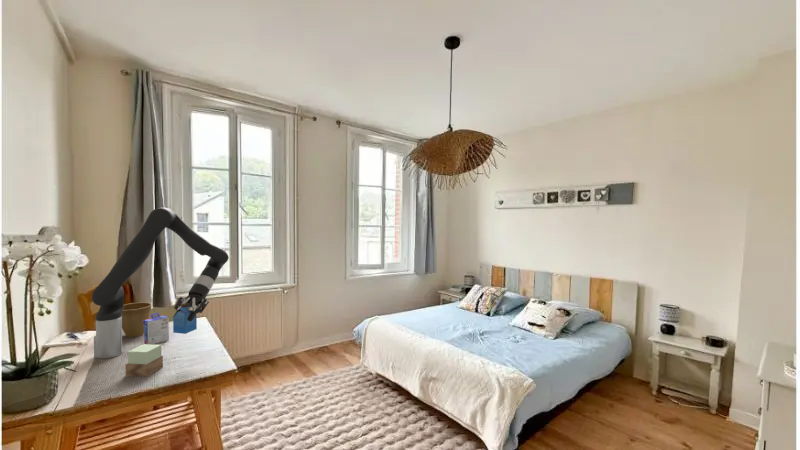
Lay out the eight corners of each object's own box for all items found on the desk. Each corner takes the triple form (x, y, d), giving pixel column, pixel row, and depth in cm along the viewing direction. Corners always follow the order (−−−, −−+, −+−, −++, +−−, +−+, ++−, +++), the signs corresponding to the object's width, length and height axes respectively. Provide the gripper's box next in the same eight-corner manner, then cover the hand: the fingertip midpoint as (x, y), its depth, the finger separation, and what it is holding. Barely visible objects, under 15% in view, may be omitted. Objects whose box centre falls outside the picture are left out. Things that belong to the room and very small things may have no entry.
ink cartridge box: (164, 337, 183) (164, 310, 183) (169, 340, 180) (169, 312, 180) (143, 343, 175) (142, 315, 174) (148, 346, 172) (147, 317, 172)
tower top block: (128, 363, 141) (127, 351, 141) (143, 355, 149) (143, 344, 149) (146, 364, 140) (146, 352, 140) (161, 356, 148) (161, 344, 148)
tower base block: (125, 376, 140) (125, 364, 140) (141, 366, 149) (141, 355, 149) (147, 376, 140) (147, 364, 140) (162, 367, 149) (162, 355, 149)
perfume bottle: (185, 333, 149) (185, 306, 148) (173, 332, 150) (173, 305, 150) (196, 329, 155) (196, 302, 155) (184, 327, 156) (184, 301, 156)
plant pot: (115, 334, 187) (115, 305, 186) (149, 328, 197) (149, 301, 197) (118, 342, 176) (117, 311, 176) (153, 335, 186) (153, 306, 186)
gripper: (183, 282, 160) (162, 314, 149) (211, 283, 158) (192, 316, 147) (192, 290, 166) (172, 322, 155) (219, 292, 163) (201, 325, 152)
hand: (182, 319), depth 151 cm, fingers closed on perfume bottle, 6 cm apart
